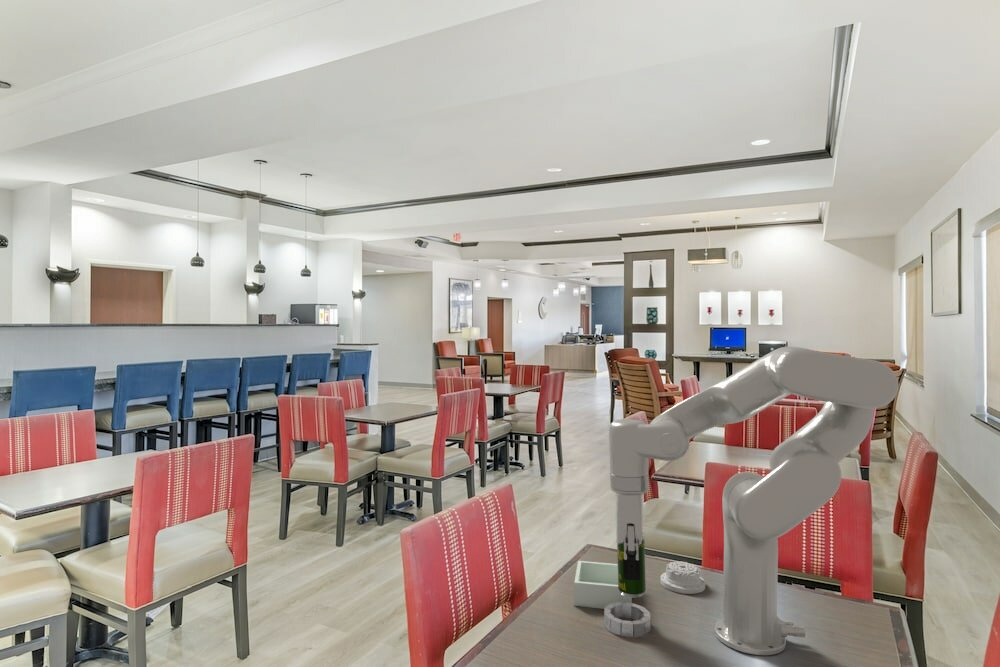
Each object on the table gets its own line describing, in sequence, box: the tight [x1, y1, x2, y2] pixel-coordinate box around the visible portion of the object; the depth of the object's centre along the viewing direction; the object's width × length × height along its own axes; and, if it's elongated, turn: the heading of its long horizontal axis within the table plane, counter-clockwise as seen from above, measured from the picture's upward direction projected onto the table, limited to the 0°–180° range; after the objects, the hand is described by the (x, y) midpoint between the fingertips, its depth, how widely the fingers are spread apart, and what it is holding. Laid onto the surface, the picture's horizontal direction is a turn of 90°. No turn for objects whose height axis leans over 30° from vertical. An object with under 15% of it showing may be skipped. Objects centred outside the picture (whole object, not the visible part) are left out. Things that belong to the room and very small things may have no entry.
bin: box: [573, 560, 633, 610], centre depth 130 cm, size 12×12×5 cm
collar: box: [603, 602, 652, 638], centre depth 117 cm, size 9×9×2 cm
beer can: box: [616, 528, 647, 599], centre depth 117 cm, size 5×5×12 cm
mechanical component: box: [660, 560, 706, 595], centre depth 136 cm, size 10×4×10 cm
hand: (631, 572), depth 117 cm, fingers closed on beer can, 5 cm apart
